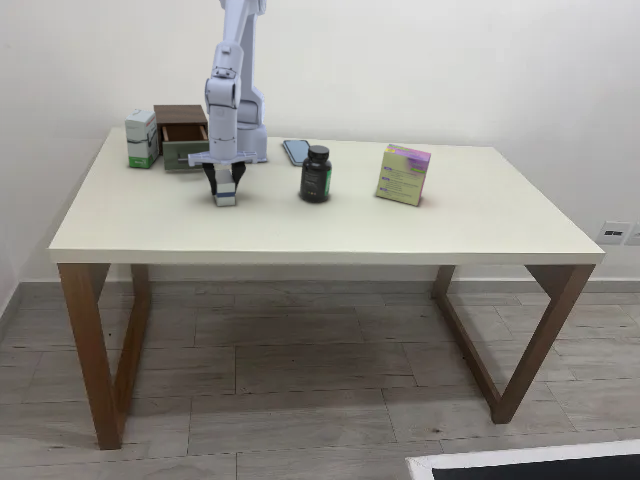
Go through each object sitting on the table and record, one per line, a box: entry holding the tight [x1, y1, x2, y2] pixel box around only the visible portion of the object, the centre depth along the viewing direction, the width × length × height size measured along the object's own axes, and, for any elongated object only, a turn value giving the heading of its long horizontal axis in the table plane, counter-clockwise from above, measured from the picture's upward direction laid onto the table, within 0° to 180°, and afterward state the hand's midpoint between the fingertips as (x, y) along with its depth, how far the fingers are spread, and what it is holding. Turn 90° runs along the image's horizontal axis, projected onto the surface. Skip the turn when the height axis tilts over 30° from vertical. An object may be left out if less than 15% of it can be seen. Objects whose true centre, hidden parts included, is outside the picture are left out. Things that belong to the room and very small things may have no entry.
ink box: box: [124, 108, 159, 169], centre depth 121 cm, size 9×5×12 cm, turn 179°
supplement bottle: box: [299, 144, 333, 204], centre depth 114 cm, size 7×7×12 cm
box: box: [375, 143, 432, 207], centre depth 119 cm, size 10×6×12 cm, turn 71°
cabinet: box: [153, 104, 209, 156], centre depth 133 cm, size 14×13×9 cm
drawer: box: [162, 125, 210, 171], centre depth 122 cm, size 17×11×7 cm
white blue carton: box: [213, 168, 236, 207], centre depth 111 cm, size 4×7×6 cm, turn 19°
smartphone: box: [282, 139, 311, 167], centre depth 137 cm, size 7×1×15 cm
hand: (223, 192), depth 111 cm, fingers closed on white blue carton, 4 cm apart
